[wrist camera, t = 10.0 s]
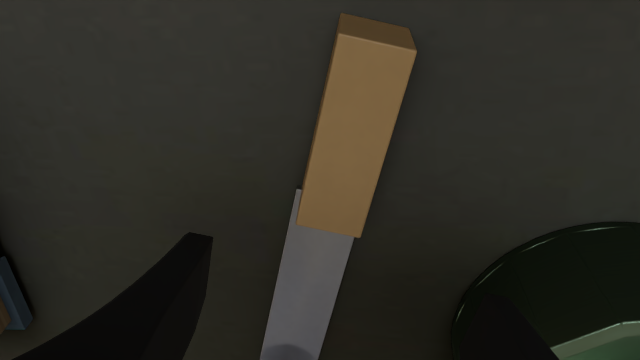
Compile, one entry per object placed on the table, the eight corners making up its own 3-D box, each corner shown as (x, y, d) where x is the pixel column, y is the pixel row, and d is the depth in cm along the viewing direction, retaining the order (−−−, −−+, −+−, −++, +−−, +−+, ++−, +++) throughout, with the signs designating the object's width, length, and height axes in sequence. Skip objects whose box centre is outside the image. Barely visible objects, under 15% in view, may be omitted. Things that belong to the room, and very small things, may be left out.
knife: (335, 10, 18) (331, 31, 15) (415, 29, 18) (424, 52, 15) (256, 372, 27) (246, 421, 24) (310, 382, 27) (305, 432, 24)
